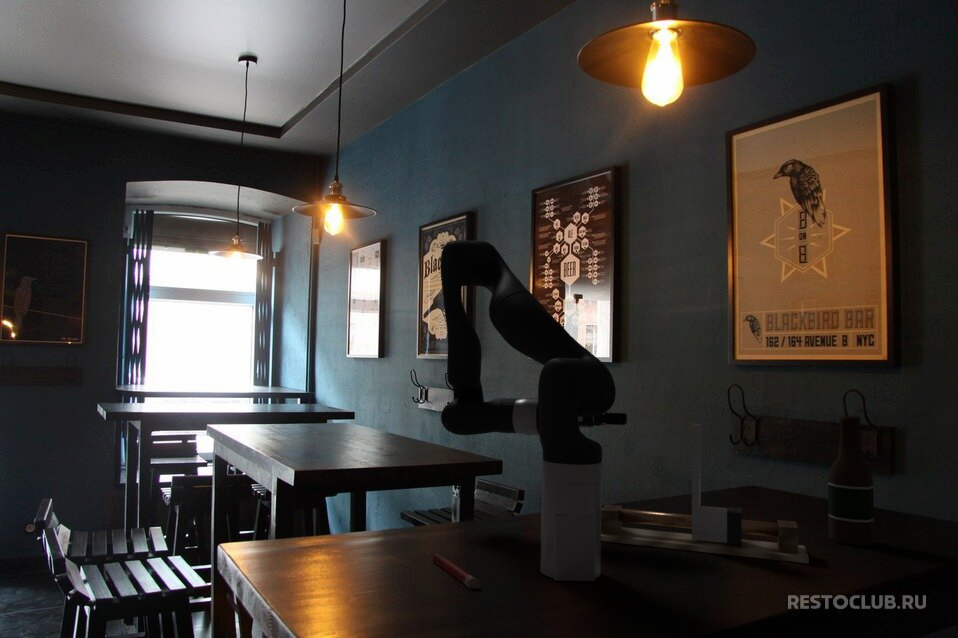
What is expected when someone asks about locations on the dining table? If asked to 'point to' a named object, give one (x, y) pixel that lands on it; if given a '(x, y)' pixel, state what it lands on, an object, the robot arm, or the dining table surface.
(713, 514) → the grey l-shaped bracket
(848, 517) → the beer bottle
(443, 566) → the flare
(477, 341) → the robot arm
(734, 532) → the ring
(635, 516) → the pipe
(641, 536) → the pipe stand
